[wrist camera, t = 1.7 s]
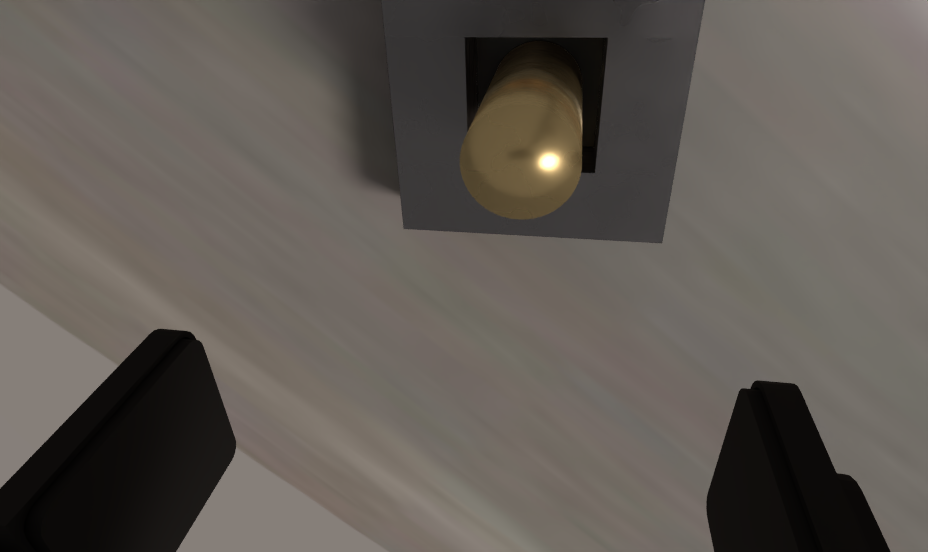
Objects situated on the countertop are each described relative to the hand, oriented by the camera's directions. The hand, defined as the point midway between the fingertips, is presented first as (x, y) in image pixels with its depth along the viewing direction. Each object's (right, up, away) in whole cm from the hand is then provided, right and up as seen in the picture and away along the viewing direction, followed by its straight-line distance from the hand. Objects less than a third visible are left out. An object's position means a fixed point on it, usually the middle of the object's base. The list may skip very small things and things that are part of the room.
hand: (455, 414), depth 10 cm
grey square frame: (+3, +11, +16) cm, 20 cm away
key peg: (+4, +11, +16) cm, 20 cm away
